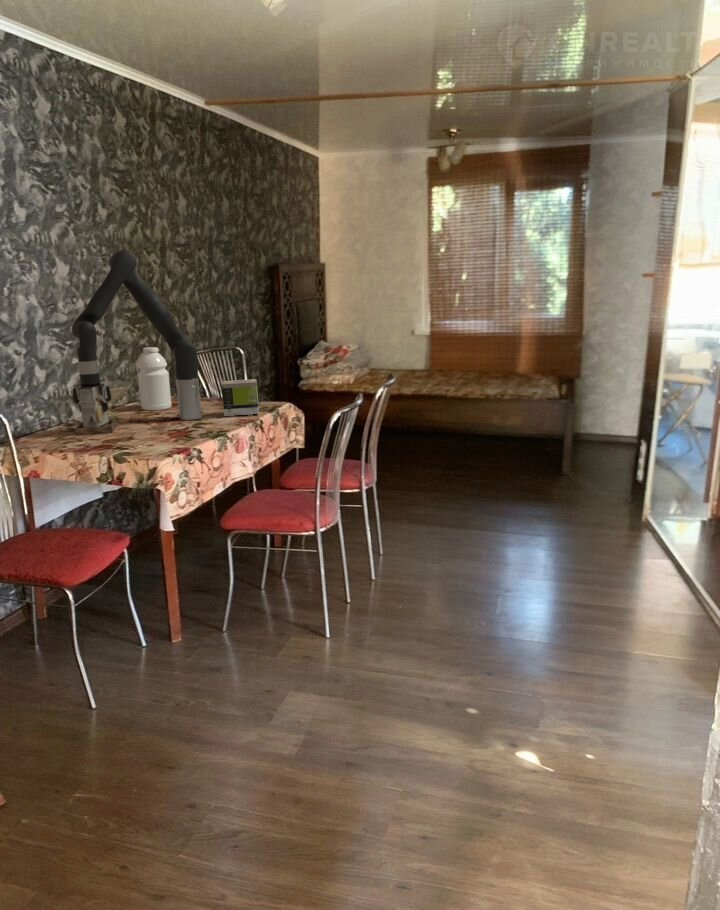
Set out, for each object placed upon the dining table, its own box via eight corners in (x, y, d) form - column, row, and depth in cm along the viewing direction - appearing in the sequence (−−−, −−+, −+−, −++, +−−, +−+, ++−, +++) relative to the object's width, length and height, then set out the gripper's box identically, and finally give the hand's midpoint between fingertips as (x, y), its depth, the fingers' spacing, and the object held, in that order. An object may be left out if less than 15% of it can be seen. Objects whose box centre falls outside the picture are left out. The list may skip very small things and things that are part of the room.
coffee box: (95, 422, 285) (89, 383, 280) (109, 422, 284) (104, 383, 279) (82, 427, 276) (77, 387, 272) (97, 427, 275) (92, 387, 271)
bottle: (144, 405, 331) (138, 346, 324) (173, 404, 332) (168, 345, 325) (138, 411, 318) (131, 350, 310) (169, 410, 319) (163, 348, 312)
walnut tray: (116, 425, 288) (115, 419, 288) (112, 432, 275) (111, 426, 274) (81, 427, 285) (80, 422, 285) (75, 435, 272) (74, 429, 272)
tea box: (259, 411, 311) (257, 378, 307) (258, 415, 301) (256, 382, 298) (225, 412, 309) (222, 380, 306) (223, 417, 300) (221, 383, 296)
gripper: (109, 369, 279) (114, 409, 283) (71, 371, 276) (77, 411, 280) (107, 372, 272) (111, 413, 276) (68, 374, 269) (74, 415, 273)
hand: (94, 412), depth 278 cm, fingers closed on coffee box, 8 cm apart
